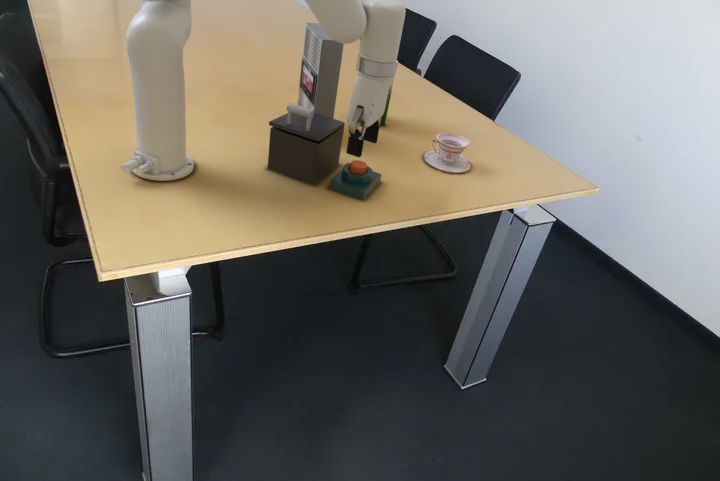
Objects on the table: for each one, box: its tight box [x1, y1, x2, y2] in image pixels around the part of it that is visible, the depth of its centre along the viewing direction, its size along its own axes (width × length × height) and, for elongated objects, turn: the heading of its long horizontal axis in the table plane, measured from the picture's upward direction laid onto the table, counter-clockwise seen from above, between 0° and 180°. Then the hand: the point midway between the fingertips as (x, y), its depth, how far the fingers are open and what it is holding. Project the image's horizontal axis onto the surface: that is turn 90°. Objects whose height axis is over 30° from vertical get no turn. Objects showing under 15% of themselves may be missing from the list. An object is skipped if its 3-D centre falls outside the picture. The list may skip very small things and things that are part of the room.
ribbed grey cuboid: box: [297, 22, 345, 119], centre depth 138 cm, size 14×6×25 cm, turn 21°
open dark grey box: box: [267, 125, 345, 186], centre depth 125 cm, size 13×12×10 cm
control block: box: [329, 162, 382, 201], centre depth 123 cm, size 10×8×4 cm
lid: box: [268, 102, 346, 141], centre depth 121 cm, size 13×12×5 cm
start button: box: [350, 159, 368, 174], centre depth 122 cm, size 4×4×2 cm
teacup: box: [423, 132, 472, 174], centre depth 140 cm, size 12×12×6 cm
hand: (361, 147), depth 119 cm, fingers open, 8 cm apart
